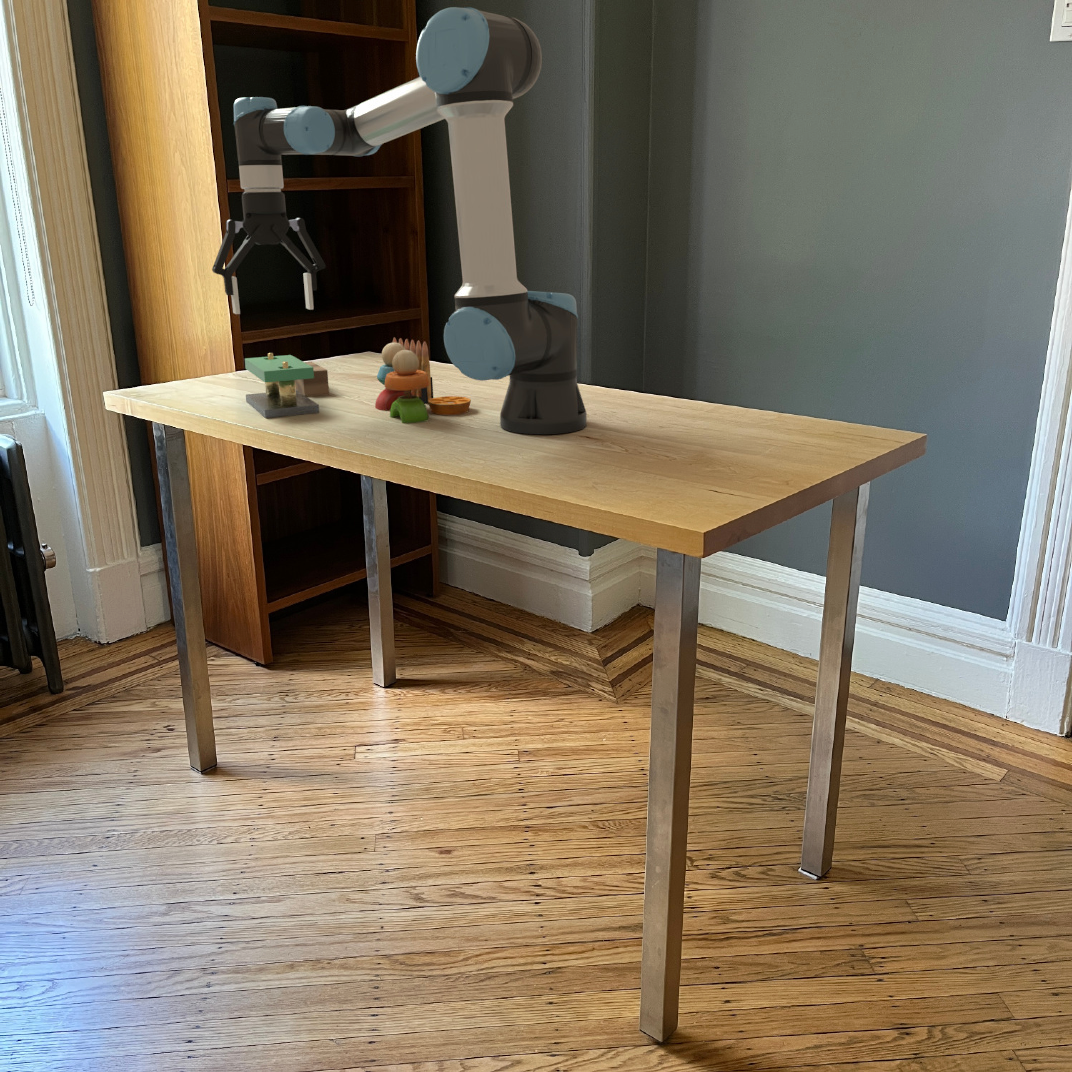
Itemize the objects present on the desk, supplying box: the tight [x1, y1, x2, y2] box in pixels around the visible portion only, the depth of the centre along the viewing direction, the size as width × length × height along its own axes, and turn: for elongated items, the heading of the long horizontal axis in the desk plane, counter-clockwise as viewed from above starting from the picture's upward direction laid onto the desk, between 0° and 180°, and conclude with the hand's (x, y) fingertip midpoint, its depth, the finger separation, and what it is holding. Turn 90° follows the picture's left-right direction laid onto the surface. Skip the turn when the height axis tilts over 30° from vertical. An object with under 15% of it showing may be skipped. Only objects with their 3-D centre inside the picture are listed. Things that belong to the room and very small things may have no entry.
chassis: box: [245, 352, 320, 419], centre depth 199 cm, size 17×10×10 cm, turn 26°
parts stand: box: [295, 361, 330, 397], centre depth 215 cm, size 12×5×5 cm, turn 26°
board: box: [244, 354, 314, 383], centre depth 198 cm, size 17×9×2 cm, turn 26°
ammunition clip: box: [392, 337, 434, 405], centre depth 203 cm, size 11×2×12 cm, turn 48°
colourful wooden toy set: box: [374, 342, 472, 424], centre depth 194 cm, size 18×17×12 cm
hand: (273, 311), depth 194 cm, fingers open, 13 cm apart
